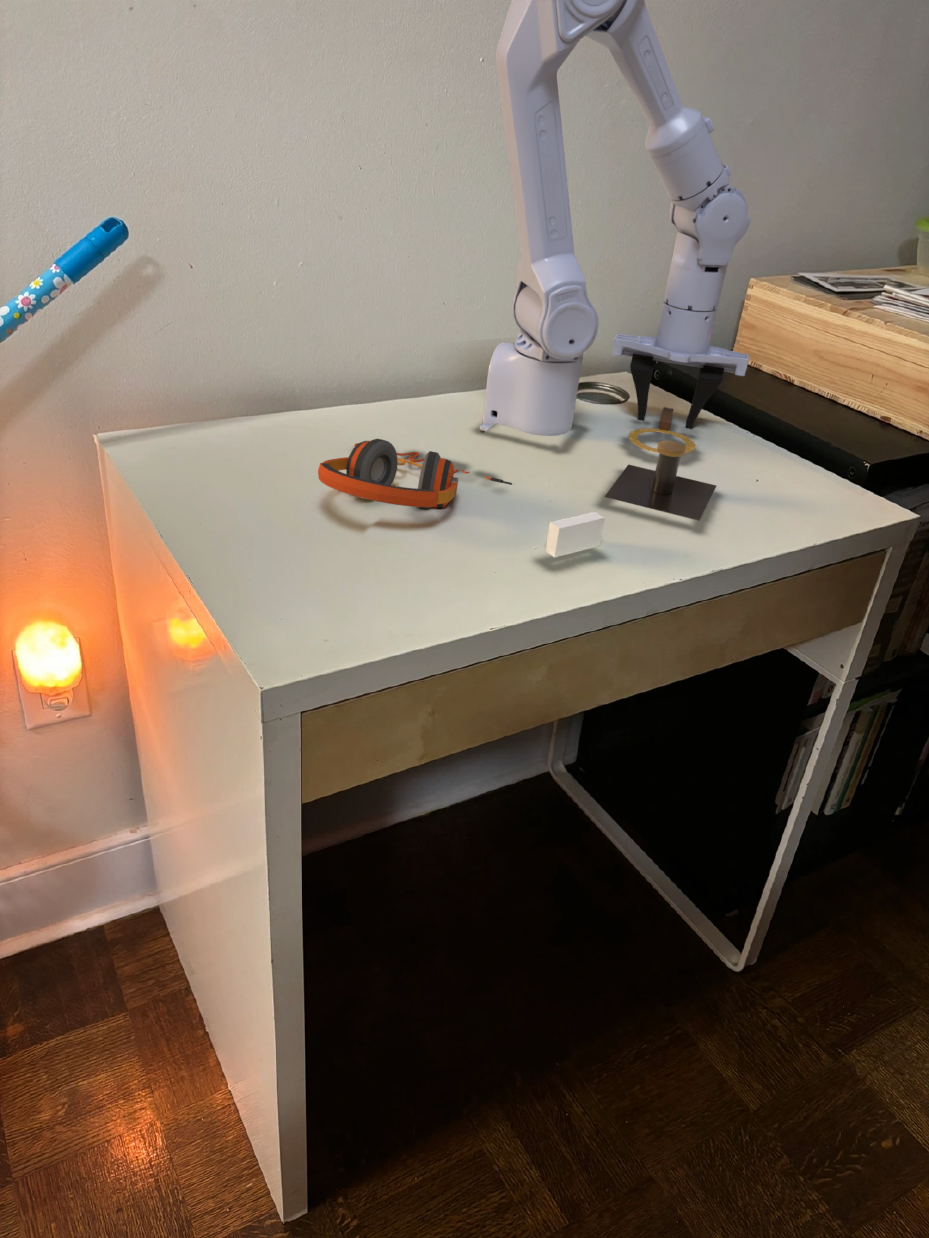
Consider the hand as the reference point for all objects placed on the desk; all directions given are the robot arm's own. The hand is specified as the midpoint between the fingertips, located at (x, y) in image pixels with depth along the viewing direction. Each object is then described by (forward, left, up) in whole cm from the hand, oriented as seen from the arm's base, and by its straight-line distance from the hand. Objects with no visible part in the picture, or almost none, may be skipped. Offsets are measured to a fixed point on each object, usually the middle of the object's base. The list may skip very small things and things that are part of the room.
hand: (664, 426), depth 106 cm
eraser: (0, -36, 0) cm, 36 cm away
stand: (+4, -20, 0) cm, 20 cm away
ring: (+1, -4, 0) cm, 4 cm away
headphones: (-17, -33, 0) cm, 37 cm away
